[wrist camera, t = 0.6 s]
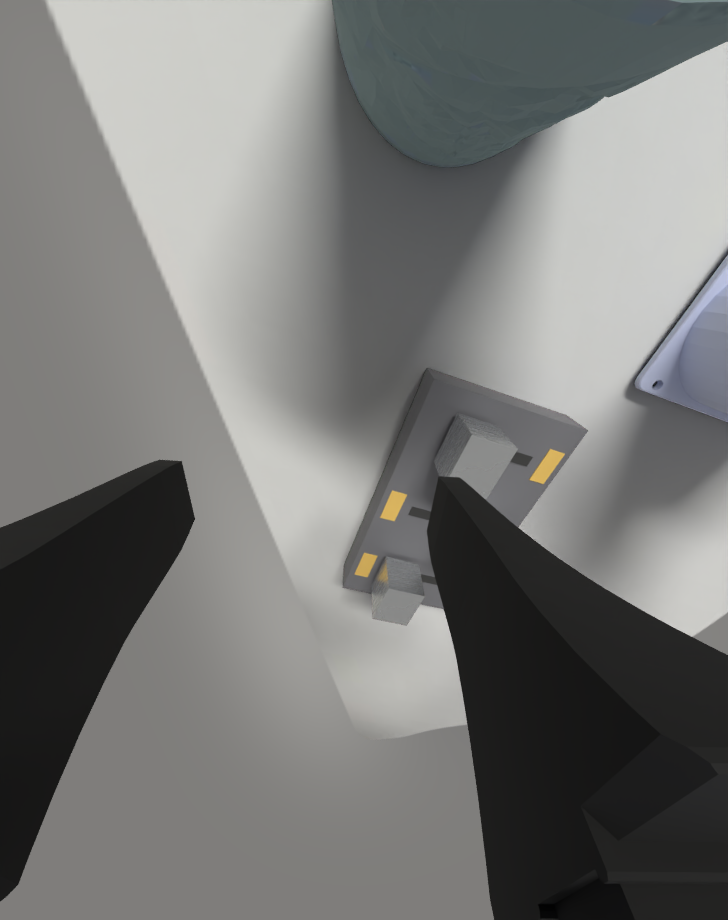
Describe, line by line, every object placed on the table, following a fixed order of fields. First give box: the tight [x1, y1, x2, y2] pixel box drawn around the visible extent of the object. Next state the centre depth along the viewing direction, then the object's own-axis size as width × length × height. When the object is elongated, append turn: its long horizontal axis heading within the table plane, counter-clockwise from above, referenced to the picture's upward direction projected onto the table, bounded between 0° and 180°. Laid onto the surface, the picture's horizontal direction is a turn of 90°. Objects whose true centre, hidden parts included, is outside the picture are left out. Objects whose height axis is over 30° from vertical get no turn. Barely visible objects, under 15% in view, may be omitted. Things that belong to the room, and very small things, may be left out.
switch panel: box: [343, 368, 588, 609], centre depth 21 cm, size 8×15×2 cm, turn 162°
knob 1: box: [371, 557, 425, 626], centre depth 21 cm, size 2×3×2 cm
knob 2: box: [434, 413, 518, 499], centre depth 16 cm, size 2×3×2 cm
